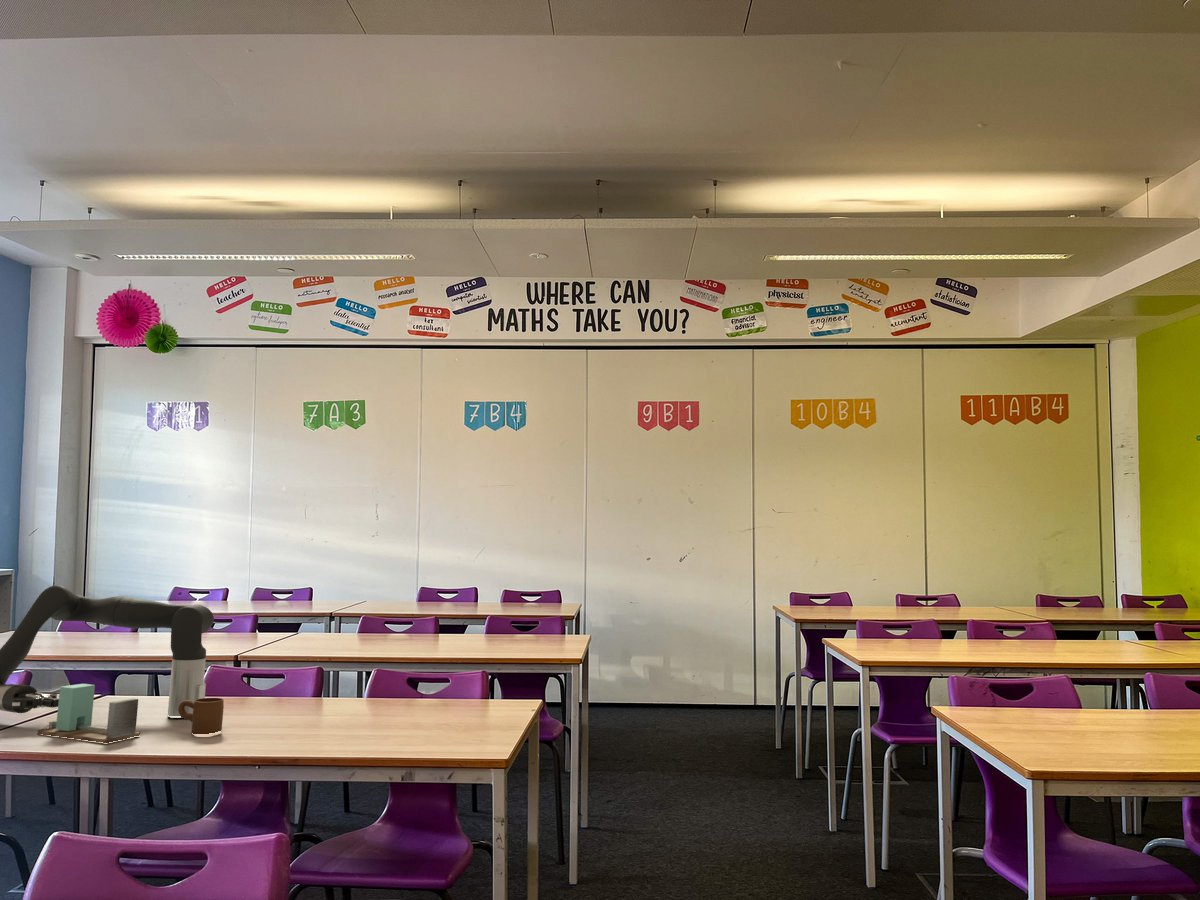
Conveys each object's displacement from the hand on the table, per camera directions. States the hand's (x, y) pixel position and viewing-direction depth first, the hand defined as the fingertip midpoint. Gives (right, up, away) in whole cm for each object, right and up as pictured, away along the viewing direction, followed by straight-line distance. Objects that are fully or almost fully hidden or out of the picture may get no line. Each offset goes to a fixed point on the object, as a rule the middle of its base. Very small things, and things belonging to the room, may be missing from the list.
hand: (56, 703), depth 229 cm
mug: (+40, -8, -2) cm, 41 cm away
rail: (+13, -6, -6) cm, 15 cm away
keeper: (+7, -6, -4) cm, 10 cm away
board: (+13, -7, -6) cm, 16 cm away
